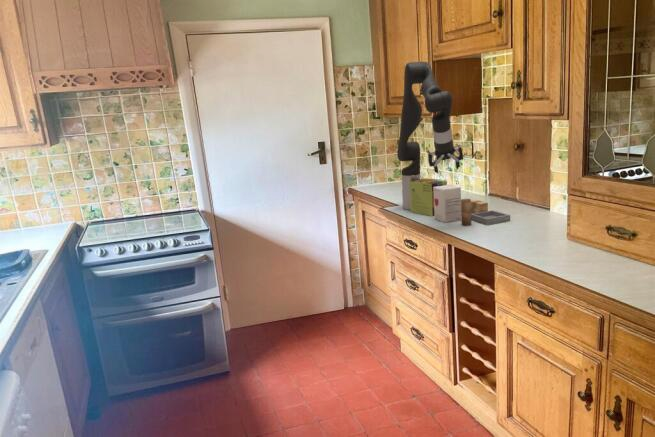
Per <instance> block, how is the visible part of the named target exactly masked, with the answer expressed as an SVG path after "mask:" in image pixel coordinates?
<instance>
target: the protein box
mask: <svg viewBox="0 0 655 437" xmlns="http://www.w3.org/2000/svg"><path fill="white" fill-rule="evenodd" d="M409 184H410V207H411V210H410V212H411V213H415V214H420V215H425V216H431V217H433V216H434V191H433V187H437V186H444V185H448V180H446V179H437V178H427V177H424V178H420V179H418V180H412V181H409Z"/></svg>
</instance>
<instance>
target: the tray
mask: <svg viewBox="0 0 655 437" xmlns="http://www.w3.org/2000/svg"><path fill="white" fill-rule="evenodd" d="M472 221H473V222H476V223H479V224H482V225H485V226H489V225H490V226H491V225H497V224H501V222H502V223H507V222H510V221H511V214H508V213H505V212H501V211H497V210H494V209H492V210H488V211H485V212H480V213H474V214H471V222H472ZM506 221H507V222H506Z"/></svg>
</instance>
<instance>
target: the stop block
mask: <svg viewBox="0 0 655 437" xmlns="http://www.w3.org/2000/svg"><path fill="white" fill-rule="evenodd" d="M485 211H489V204H488V202H487V201H482V200H478V199H474V198H473V199H471V214H474V213H480V212H485Z"/></svg>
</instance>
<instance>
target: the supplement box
mask: <svg viewBox="0 0 655 437" xmlns="http://www.w3.org/2000/svg"><path fill="white" fill-rule="evenodd" d="M433 191H434V218H433V219H434V220H437V221H440V222H442V223H449V222H455V221H460V220H461V199H462V195H461V194H462V189H461V186H457V185H452V184H447V185H444V186H437V187H433Z"/></svg>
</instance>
